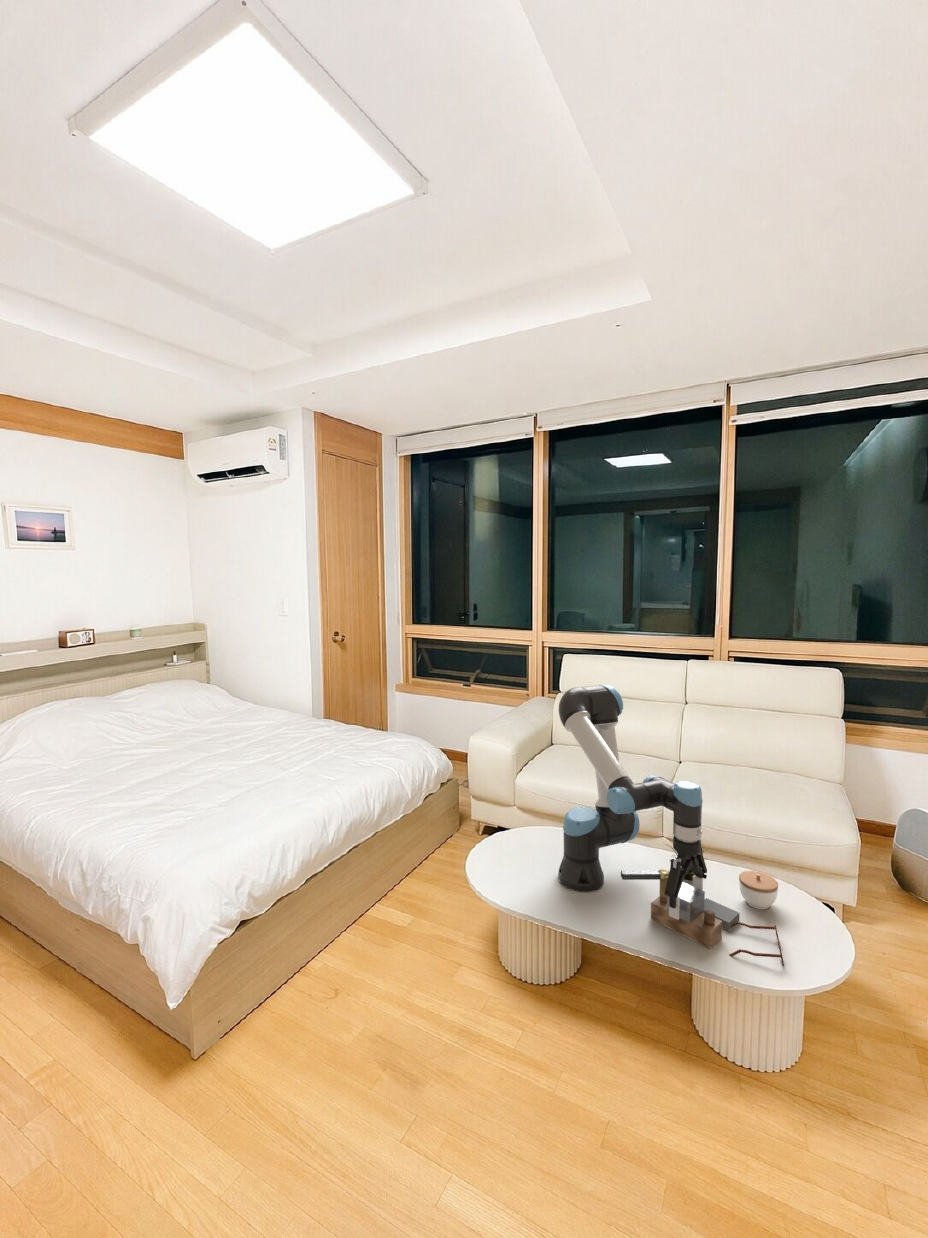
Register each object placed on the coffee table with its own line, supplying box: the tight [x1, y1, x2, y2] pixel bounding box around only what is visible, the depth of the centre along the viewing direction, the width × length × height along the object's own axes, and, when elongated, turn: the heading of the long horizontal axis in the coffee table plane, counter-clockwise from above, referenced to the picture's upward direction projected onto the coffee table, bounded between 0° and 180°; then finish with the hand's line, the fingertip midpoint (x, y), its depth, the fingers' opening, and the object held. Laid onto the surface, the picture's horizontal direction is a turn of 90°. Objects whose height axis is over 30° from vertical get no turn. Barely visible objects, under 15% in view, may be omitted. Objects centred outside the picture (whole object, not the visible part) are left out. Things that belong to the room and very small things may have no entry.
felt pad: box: [704, 897, 741, 932], centre depth 165 cm, size 10×7×2 cm
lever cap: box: [667, 882, 706, 923], centre depth 160 cm, size 7×8×6 cm
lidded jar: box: [738, 870, 779, 910], centre depth 172 cm, size 11×11×9 cm
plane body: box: [650, 880, 723, 950], centre depth 160 cm, size 18×7×12 cm, turn 41°
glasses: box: [729, 921, 785, 966], centre depth 152 cm, size 13×13×5 cm
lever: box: [620, 868, 670, 881], centre depth 165 cm, size 14×3×2 cm, turn 89°
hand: (686, 907), depth 160 cm, fingers open, 13 cm apart
